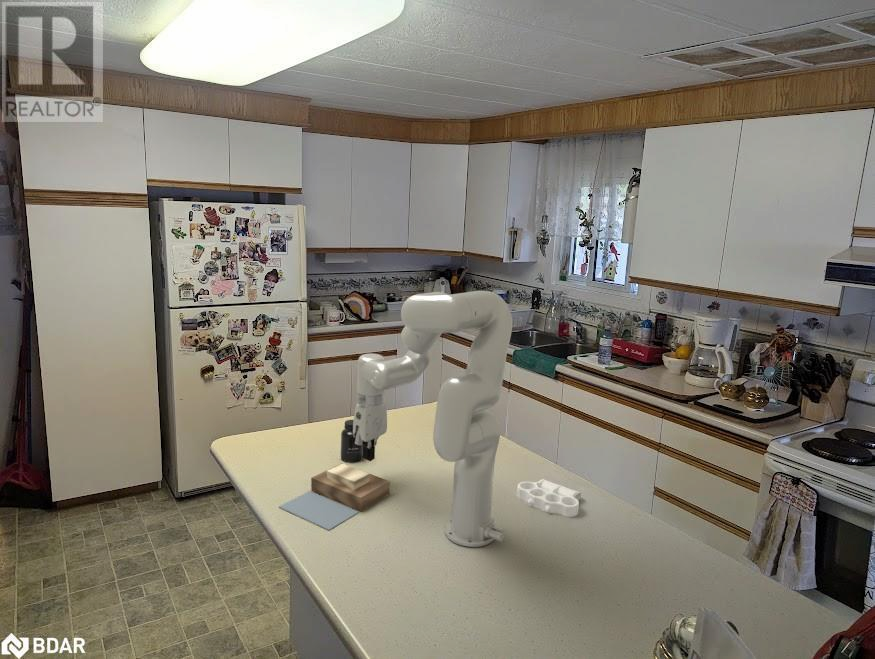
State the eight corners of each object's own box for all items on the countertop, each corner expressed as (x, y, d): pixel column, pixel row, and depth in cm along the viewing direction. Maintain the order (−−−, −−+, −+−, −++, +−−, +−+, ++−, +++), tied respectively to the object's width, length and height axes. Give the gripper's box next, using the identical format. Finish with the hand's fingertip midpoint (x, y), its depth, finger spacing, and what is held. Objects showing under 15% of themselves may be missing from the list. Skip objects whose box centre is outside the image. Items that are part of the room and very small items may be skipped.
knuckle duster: (590, 504, 164) (566, 524, 153) (534, 483, 175) (507, 501, 164) (592, 493, 163) (567, 513, 152) (534, 472, 174) (508, 490, 163)
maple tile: (369, 482, 162) (369, 473, 162) (354, 490, 157) (354, 481, 157) (342, 471, 167) (342, 463, 167) (327, 479, 163) (327, 470, 162)
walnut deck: (389, 494, 164) (389, 481, 163) (360, 511, 154) (360, 497, 153) (341, 475, 174) (341, 463, 173) (311, 491, 164) (311, 477, 163)
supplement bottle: (351, 464, 181) (352, 427, 179) (336, 458, 185) (336, 422, 183) (367, 457, 187) (367, 421, 184) (351, 451, 191) (352, 416, 188)
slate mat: (359, 512, 154) (359, 511, 154) (328, 530, 145) (328, 529, 145) (310, 491, 164) (310, 490, 164) (278, 507, 155) (278, 506, 155)
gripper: (362, 408, 157) (360, 472, 161) (397, 394, 169) (395, 454, 173) (341, 401, 161) (340, 463, 165) (377, 388, 173) (375, 447, 177)
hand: (368, 458), depth 169 cm, fingers closed
